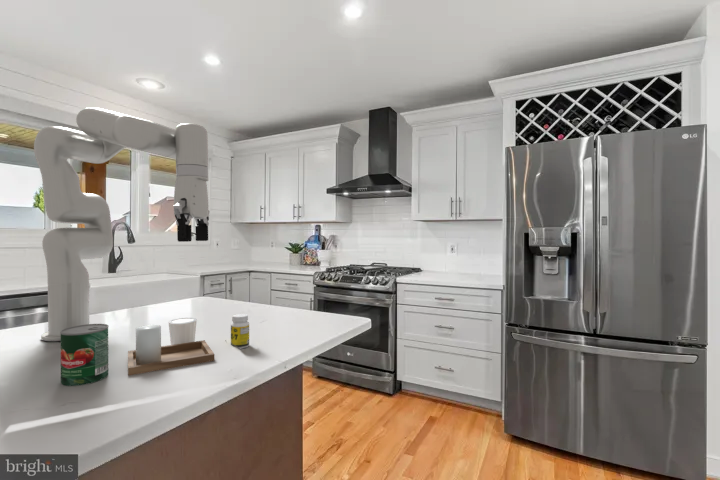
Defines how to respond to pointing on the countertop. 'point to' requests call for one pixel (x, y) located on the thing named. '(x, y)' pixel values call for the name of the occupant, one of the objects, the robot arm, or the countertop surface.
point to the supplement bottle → (240, 331)
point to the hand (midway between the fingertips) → (193, 241)
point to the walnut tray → (173, 357)
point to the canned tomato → (84, 354)
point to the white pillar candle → (148, 344)
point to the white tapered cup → (182, 330)
